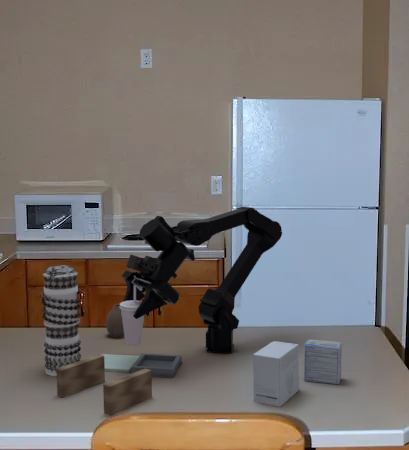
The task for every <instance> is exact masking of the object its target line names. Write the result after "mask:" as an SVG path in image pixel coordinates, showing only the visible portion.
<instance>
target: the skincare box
mask: <svg viewBox="0 0 409 450" xmlns="http://www.w3.org/2000/svg"><path fill="white" fill-rule="evenodd" d="M299 347H300V345H299V344H298V343H297V344H296V343H290V342H283V341H276V340H275V341H274V340H273V341H271V342H270V343H269V344H267V345H265V346H263V347H262V348H260V349H259V350H258V351H256V352H255V353H253V355H252V357H253V364H252V365H253V367H252V368H253V402H256V403H259V404H260V403H261V404H266V405H271V406H275V407H279V408H280V407H281V406H283V405H284V404H285V403H286V402H288V400H290V399H291V398H292V397H293V396H294V395H295V394H297V393H298V392H299V391H300V376H299V375H300V368H299V366H300V365H299V364H300V363H299V356H300V355H299V352H300V351H299Z"/></svg>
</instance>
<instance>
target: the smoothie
mask: <svg viewBox="0 0 409 450" xmlns="http://www.w3.org/2000/svg"><path fill="white" fill-rule="evenodd" d="M142 301H143V300H140V301H138V300H136V285H134V300H130V301H124V302H123V301H122V302H119V304H120V307H119V308H120V309H121V313H122V321H123V329H124V337H123V338H124V344H125V345H127V346H130V347H131V346H132V347H134V346H140V345H141V344H142V337H143V328H144V324H145V323H144V321H145V315H146V314H145V315H143V316H142V317H140V318H138V319H135V318H134V317H133V315H134V314H135V312H136V310H137V308H138V307H139V305H140V304H141V302H142Z"/></svg>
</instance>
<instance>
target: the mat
mask: <svg viewBox="0 0 409 450" xmlns="http://www.w3.org/2000/svg"><path fill="white" fill-rule="evenodd" d="M100 355H103V356H104V365H105V372H120V373H123V372H124V373H131V367H132V365H133V364H134V363H135V362H136V360H137V359H138V358H139V356H140V355H128V354H127V355H125V354H109V353H101V354H100Z"/></svg>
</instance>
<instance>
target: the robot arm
mask: <svg viewBox="0 0 409 450" xmlns="http://www.w3.org/2000/svg"><path fill="white" fill-rule="evenodd" d="M240 226H244V228H245V229H246V230H247V231H248V232H247V236H246V237H247V238H246V239H247V240H246V241H247V242H246V244H245V247H244V248H243V250H242V251H241V252H240V254H239V256H238V257H237V259H236V260H235V262H234V263H233V264H232V267H230V269H229V271H227V274H226V275H225V277H224V279H222V282H221V283H220V284H219V286H218V287H217V288H215V289H212V288H207V290H206V291H205V294H204V295H203V296H202V297H201V298H200V299H199V302H200V303H199V304H198V307H197V309H198V313H199V317H200V318H201V320H202V322H203V324H204V325H207V330H206V331H205V348H206V352H207V353H218V354H219V353H220V354H231V353H232V352H233V350H234V347H235V344H234V330H237V329H238V327H239V324H240V320H239V319H238V317H236V315H235V314H234V313H233V311H234V309H235V304H236V303H235V300H236V296H237V294H238V293H239V292H240V290H241V288H242V286H243V285H244V283H245V282H246V280H247V279H248V278H249V275H250V274H251V272H252V271H253V269H254V268H255V267H256V265H257V263H258V262H259V261H260V258H261V257H262V255H263V254H264V253H266V252H267V251H269V250H271V249H272V248H274V246H275V245H276V244H277V243H278V242H279V241H280V239H282V235H283V232H282V231H283V230H282V226H281V224H280V223H279V221H276V220H273V219H271V218H269V217H267V216H266V215H264V214H262V213H260V212H259V211H258V210H257V209H256V208H254V207H250V206H239V207H238V208H237V209H233V210H231V211H227V212H224V213H220V214H217V215H214V216H211V217H207V218H203V219H202V218H201V219H200V218H199V219H185V220H180V221H179V222H178V223H177V225H174V226H171V225H169V224H168V223H167V221H166V219H165V218H164V217H163V216H161V215H156V216H155V218H153V219H151V220H148V221H147V222H146V223H144V224H143V225H142V227H141V228H140V230H139V236H140V237H141V239H143V241H145V242H146V243H147V245H149V247H150V248H152V249H153V250H154V252H160V253H159V255H157V257H152V256H149V255H145V256H144V257H140V256H136V255H134V254H130V255H129V257H128V260H127V263H126V265H125V267H126V268H127V270H125V271H124V272H123V273H122V275H121V278H122V279H123V280H124V282H125V285H126V292H125V296H124V298H123V300H122V302H124V301H130V300H134V285H136V300H138V301H142V302H141V304H140V305H139V307H138V308H137V310H136V312H135V314H134V315H133V317H134V318H135V319H138V318H140V317H142V316H143V315H147V314H149V313H150V312H153V311H155V310H157V309H159V308H161V307H164V306H167V305H168V304H170V305H172V306H175V305H176V303H177V302H178V301H179V300H180V299H179V298H180V293H179V291H177V290H176V289H175V288H174V287H173V286H172V285H171V284H170V283H169V281H170V280H171V279H176V278H177V277H178V274H177V273H176V272H177V271H178V270H179V268H181V266H182V265H183V263H184V262H185V261H186V260H189V261H191V262H192V261H193V262H194V261H196V260H195V259H196V257H195V253H194V252H195V250H194V249H192V248H188V247H187V246H186V245H189V246H195V247H197V246H202V244H204V243H206V242H208V241H210V240H211V238H212V237H213V236H215V235H216V234H220V233H222V232H225V231H229V230H233V229H234V228H237V227H240ZM120 311H121V309H120Z"/></svg>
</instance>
